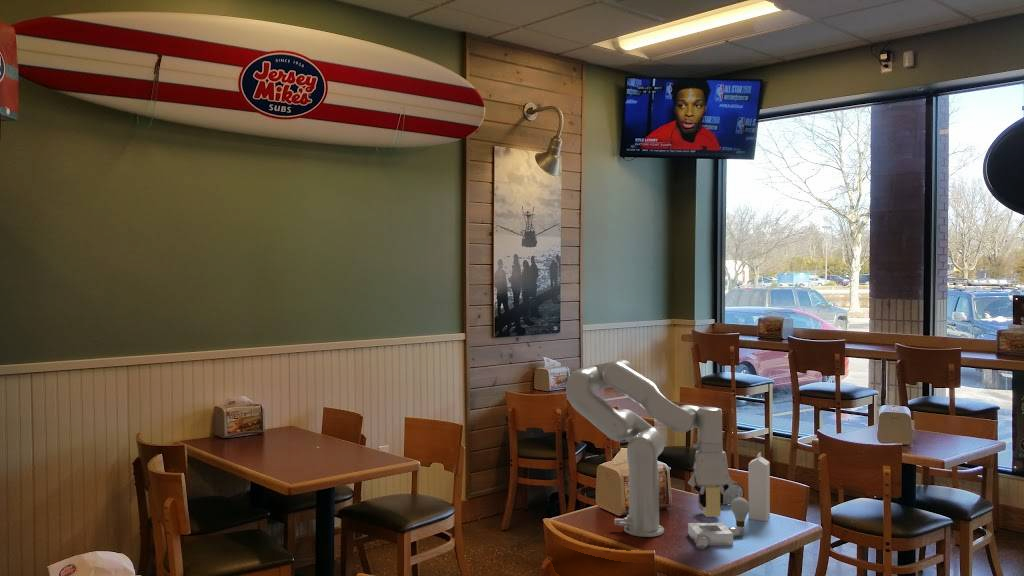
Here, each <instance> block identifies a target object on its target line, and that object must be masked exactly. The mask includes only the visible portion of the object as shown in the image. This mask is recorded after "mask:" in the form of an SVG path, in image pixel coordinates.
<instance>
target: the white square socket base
mask: <svg viewBox="0 0 1024 576" xmlns="http://www.w3.org/2000/svg"><path fill="white" fill-rule="evenodd" d="M687 525H688V526H687V527H688V529H687V531H688V532H687V533H688V534H689V535H688V534H687V535H688V536H689V537H690V539H691V540H692V539H693V540H694V541H693V540H692V541H693V542H694V543H695V544H696V542H697V541H698V540H699V539H700V538H701V537H702V536H708V537H709V538H710V540H711V541H710V543H709V545H708V546H734V537H733V533H732V532H731V531H730V530H729V529H728V528H729V527H727V526H726V524H724V523H723V522H695V523H693V522H690V523H689V522H688V523H687Z"/></svg>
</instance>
